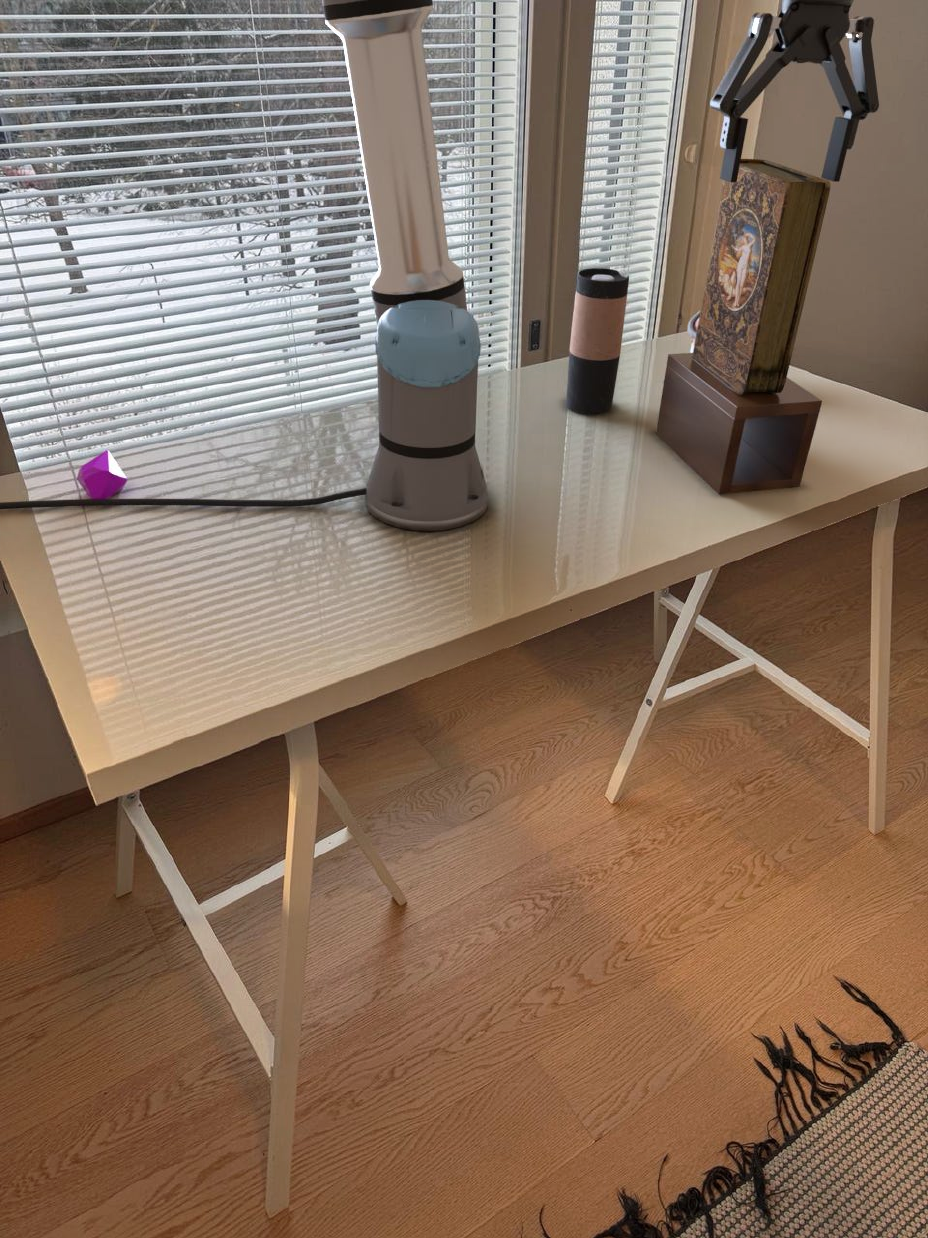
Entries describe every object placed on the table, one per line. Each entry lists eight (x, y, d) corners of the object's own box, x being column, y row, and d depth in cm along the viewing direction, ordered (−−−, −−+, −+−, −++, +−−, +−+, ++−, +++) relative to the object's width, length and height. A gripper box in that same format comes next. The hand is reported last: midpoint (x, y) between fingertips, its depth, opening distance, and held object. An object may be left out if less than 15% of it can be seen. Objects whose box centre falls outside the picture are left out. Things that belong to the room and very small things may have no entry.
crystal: (77, 491, 116) (69, 457, 113) (119, 480, 118) (113, 447, 116) (92, 507, 112) (84, 473, 110) (135, 496, 115) (129, 462, 113)
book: (687, 356, 129) (721, 158, 115) (723, 354, 130) (761, 158, 116) (742, 399, 116) (788, 181, 102) (782, 396, 117) (832, 181, 103)
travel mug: (559, 411, 142) (572, 277, 131) (569, 394, 148) (582, 265, 137) (608, 418, 141) (625, 283, 129) (616, 401, 147) (633, 270, 135)
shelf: (718, 494, 120) (736, 406, 114) (655, 433, 136) (668, 353, 129) (800, 486, 123) (822, 400, 116) (728, 428, 139) (744, 349, 132)
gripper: (736, -47, 91) (698, 186, 104) (949, -35, 97) (890, 184, 109) (702, -46, 97) (669, 174, 109) (905, -35, 103) (853, 173, 115)
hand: (779, 180), depth 109 cm, fingers open, 13 cm apart
